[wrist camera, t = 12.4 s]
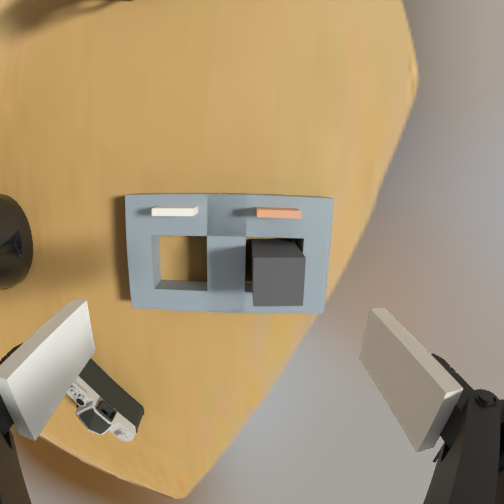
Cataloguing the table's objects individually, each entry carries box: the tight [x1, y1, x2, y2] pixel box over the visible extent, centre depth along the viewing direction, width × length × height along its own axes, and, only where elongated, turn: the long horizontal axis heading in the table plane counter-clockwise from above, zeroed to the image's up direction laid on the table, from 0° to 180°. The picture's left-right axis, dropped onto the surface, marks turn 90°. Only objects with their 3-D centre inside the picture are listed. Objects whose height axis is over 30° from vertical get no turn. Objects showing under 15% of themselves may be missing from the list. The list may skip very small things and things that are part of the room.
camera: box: [67, 358, 144, 442], centre depth 40 cm, size 16×9×10 cm, turn 40°
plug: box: [251, 239, 306, 306], centre depth 35 cm, size 5×5×10 cm
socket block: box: [125, 193, 333, 313], centre depth 36 cm, size 24×14×7 cm, turn 88°
